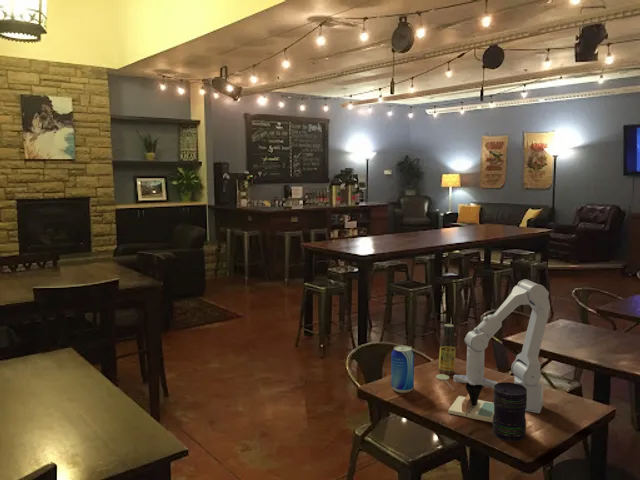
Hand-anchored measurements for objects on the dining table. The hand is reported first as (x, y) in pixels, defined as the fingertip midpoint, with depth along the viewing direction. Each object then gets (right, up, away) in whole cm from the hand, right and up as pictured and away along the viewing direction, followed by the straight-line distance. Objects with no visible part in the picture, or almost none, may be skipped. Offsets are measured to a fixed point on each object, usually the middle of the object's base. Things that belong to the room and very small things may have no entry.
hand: (474, 404), depth 191 cm
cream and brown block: (-4, -2, +2) cm, 5 cm away
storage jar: (+6, -4, -17) cm, 18 cm away
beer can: (-22, 0, +19) cm, 29 cm away
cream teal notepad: (+3, -2, -2) cm, 4 cm away
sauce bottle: (-1, +2, +35) cm, 35 cm away
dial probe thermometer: (-4, +1, +25) cm, 25 cm away
